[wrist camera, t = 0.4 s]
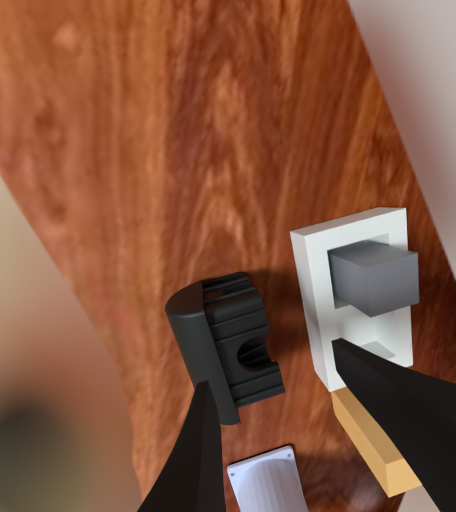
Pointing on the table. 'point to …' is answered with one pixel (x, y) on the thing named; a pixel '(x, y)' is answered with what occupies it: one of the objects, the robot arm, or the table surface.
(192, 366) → the end cap
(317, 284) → the socket strip
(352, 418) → the tan rectangular block
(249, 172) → the table surface
